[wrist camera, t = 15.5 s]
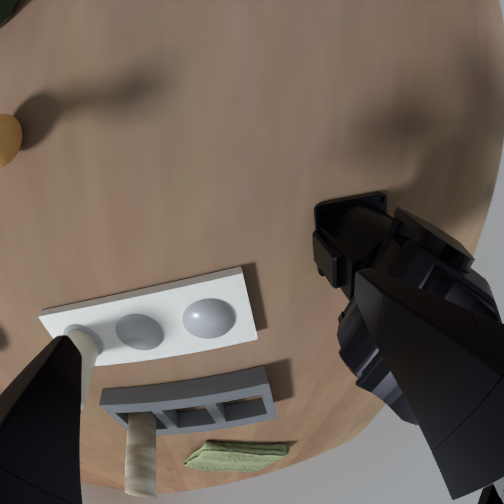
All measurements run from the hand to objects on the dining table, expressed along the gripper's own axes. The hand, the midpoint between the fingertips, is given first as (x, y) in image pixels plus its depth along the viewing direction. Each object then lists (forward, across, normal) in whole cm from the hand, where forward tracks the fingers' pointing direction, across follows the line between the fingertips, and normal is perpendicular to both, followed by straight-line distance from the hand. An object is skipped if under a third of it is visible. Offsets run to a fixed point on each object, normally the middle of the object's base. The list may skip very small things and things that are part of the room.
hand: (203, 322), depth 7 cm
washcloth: (+14, +8, +48) cm, 51 cm away
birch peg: (+13, +15, +24) cm, 32 cm away
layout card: (+13, +9, +10) cm, 19 cm away
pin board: (+13, +9, +24) cm, 29 cm away
